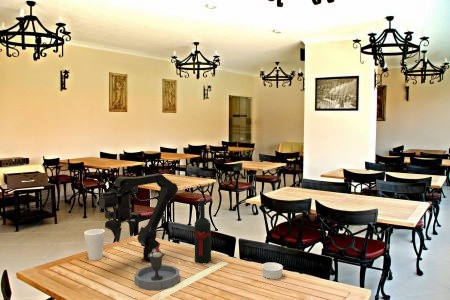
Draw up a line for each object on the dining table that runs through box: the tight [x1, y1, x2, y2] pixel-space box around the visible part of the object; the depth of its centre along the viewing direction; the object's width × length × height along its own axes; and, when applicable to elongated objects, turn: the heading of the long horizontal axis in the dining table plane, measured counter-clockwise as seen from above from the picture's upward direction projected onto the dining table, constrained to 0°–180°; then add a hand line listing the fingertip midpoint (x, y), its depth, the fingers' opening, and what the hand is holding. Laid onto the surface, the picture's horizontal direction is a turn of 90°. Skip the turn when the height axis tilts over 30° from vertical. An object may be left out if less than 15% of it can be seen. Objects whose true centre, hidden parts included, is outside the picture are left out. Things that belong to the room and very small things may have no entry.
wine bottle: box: [194, 197, 212, 265], centre depth 180 cm, size 8×10×30 cm
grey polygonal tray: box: [134, 263, 181, 291], centre depth 160 cm, size 18×18×3 cm
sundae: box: [148, 244, 165, 281], centre depth 159 cm, size 7×7×15 cm
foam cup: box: [83, 228, 106, 261], centre depth 187 cm, size 10×9×13 cm
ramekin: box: [261, 262, 284, 280], centre depth 164 cm, size 9×9×4 cm
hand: (124, 239), depth 174 cm, fingers open, 9 cm apart
